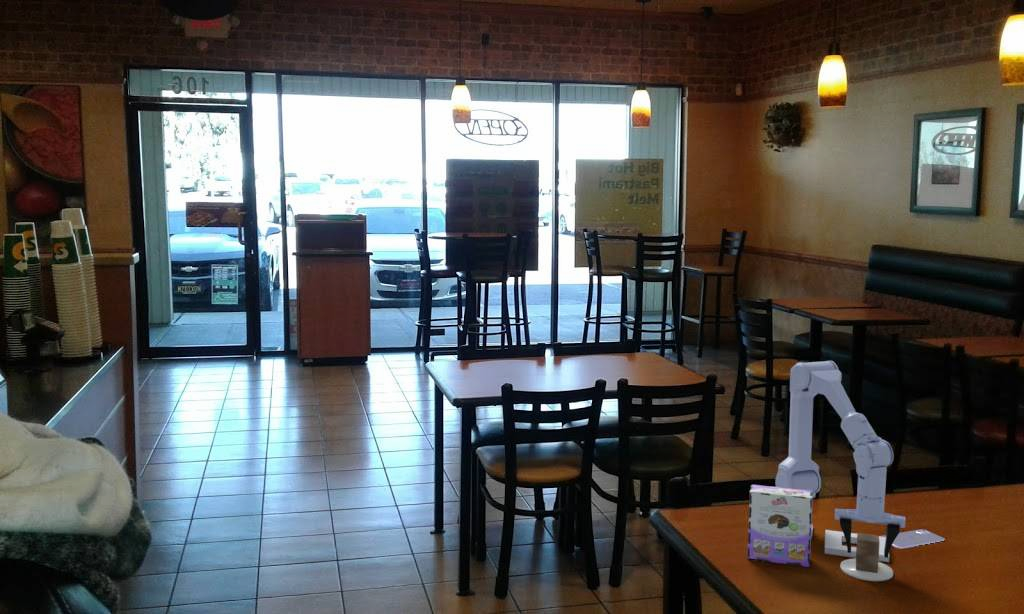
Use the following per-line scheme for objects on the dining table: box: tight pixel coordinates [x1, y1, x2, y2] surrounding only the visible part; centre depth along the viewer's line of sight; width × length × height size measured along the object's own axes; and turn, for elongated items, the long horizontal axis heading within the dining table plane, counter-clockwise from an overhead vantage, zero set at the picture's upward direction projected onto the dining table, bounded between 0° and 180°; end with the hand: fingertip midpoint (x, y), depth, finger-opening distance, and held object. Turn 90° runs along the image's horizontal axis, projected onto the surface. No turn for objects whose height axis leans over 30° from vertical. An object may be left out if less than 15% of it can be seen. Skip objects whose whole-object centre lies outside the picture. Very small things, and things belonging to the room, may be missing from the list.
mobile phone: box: [880, 528, 946, 550], centre depth 222 cm, size 8×1×15 cm
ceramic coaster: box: [839, 558, 894, 582], centre depth 203 cm, size 11×11×1 cm
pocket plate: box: [824, 529, 890, 563], centre depth 216 cm, size 14×12×2 cm
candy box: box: [746, 484, 813, 568], centre depth 209 cm, size 14×6×16 cm, turn 71°
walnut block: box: [855, 532, 880, 573], centre depth 203 cm, size 4×4×7 cm
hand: (867, 553), depth 203 cm, fingers open, 7 cm apart
